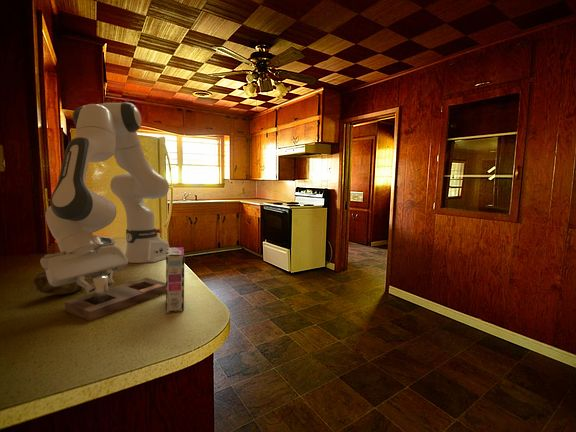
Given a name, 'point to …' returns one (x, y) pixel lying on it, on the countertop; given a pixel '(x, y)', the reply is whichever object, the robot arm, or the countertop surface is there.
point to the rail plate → (116, 298)
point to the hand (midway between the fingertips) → (101, 287)
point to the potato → (45, 287)
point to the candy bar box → (175, 279)
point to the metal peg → (100, 289)
